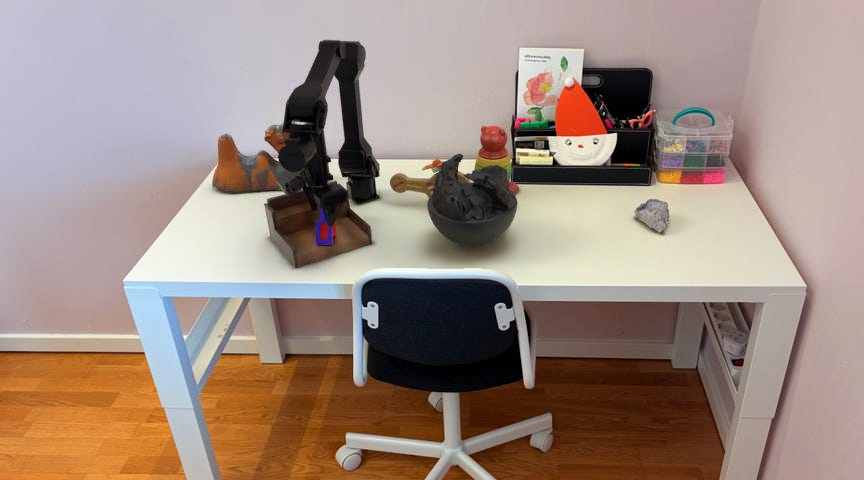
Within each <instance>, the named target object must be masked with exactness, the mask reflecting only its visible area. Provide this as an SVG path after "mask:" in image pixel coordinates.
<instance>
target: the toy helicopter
mask: <svg viewBox="0 0 864 480" xmlns="http://www.w3.org/2000/svg"><path fill="white" fill-rule="evenodd" d="M445 161H446V160H443V161H442V160H441V159H439V158H436V159H434V160H433V161H432V163H430V164H427V165H424V167H422V169H421V171H425V170H431V171H432V173H433V175H432V176H431V177H430V178H423V177H422V178H420V177H409V176H407V175H406V173H402V172H397V173H395V174H393V175H392V176H391V177H390V180H389V187H390V189H392V191H394V192H395V193H397V194H403V193H405V192H408V191H409V192H416V193H421V194H425V196H427V198H428V199H429V198H430V196H431V195H432V193H433V190H434V183H435V178H436V176H437V174H438V173H439V172H440V171H441V169H440V166H441V164H442V163H443V162H445ZM464 174H465V173H463V172H461V171H459V170H458V181H459V182H460V183H469V182H471V180H469V179H468V178H466V177H465V176H464Z"/></svg>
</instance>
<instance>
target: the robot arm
mask: <svg viewBox="0 0 864 480" xmlns="http://www.w3.org/2000/svg"><path fill="white" fill-rule="evenodd" d="M317 48H318V51H317V53H316V55H315V57H314V60H313V62H312V65H311V67H310V69H309V71H308V74H307V75H306V78H305V80H304V82H303V83H301V84H300V85H298V86H296V87H294V89H292V92H291V93H290V94H289V97H288V98H287V100H286V101H285V108H284V117H283V123H282V124H283V133H290V137H287V138H286V139H285V145H284V146H283V147H282V148H281V149H280V151H279V154H278V153H277V161H279V162H280V164H281V166H282V167H283V168H284V169H286V170H285V171H284V172H282V173H281V174H279V175H278V176H276V178H275V180H276V181H277V183H278V185H279V186H280V188H281V189H282V190H281V191H282V192H283V193H284V194H286V195H287V196H291V195H293V194H294V193H297V192H298V191H300V190H302V189H303V191H304V193H305V196H306V198H307V200H308V202H309V205H310V207H311V209H312V211H316V210H317V208H318V206H319V207H320V208H322V209H323V212H324V215H325V219H326V222H327V224H328V227H332V226H333V225H334V223H335V220H336V218H337V215H338V213H339V210H340V208H341V206H342V204H343V203H344V202H345V201H347V200H348V195H349V200H351V201H353V202H354V203H355V204H356V205H361V204H364V203H367V202H371V201H375V200H378V199H380V197H381V196H380V195H379V194H378V192H377V183H376V178H379V177H380V170H381V167H380V163H379V161H378V160H377V159H376V158H375V156H374V155H373V148H372V146H371V144H369V142H368V141H367V138H365V133H364V132H365V131H364V122H363V112H362V100H361V87H360V77H361V75H362V73H363V71H364V69H365V61H366V59H367V52H366V47H365V46H364V45H363V44H362V43H361V42H360V41H359V40H340V39H323V40H320V41H319V42H318V47H317ZM334 77H335V79H336V80H337V82H338V91H339V100H340V109H341V110H340V111H341V120H342V129H343V130H342V131H343V137H344V142H343V143H342V145H341V147H340V149H339V150H338V153H337V155H338V158H337V165H338V169H339V171H340V174H341V178H347V181H346V182H345V184H346V188H345V187H344V188H345V189H346V190H347V191H348V195H347V191H346V190H345V189H344V188H342V187H341V186H340V185H338V184H339V183H338V182H337V183H338V184H337V183H335V184H331V185H330V184H329V183H328V182H332V181H335V180H334V175H333V174H332V173H331V172H330V165H329V163H332V157H330V155H328V151H327V143H326V136H325V130H324V129H325V126H326V124H327V123H326V122H327V118H328V113H329V103H328V101H327V98H326V96H327V93H328V92H329V91H328V90H329V89H330V86H331V84H332V81H333V79H334ZM292 121H293V122H295V123H296V124H291V123H292ZM300 123H301V124H300ZM302 123H303V124H302Z"/></svg>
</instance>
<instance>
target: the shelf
mask: <svg viewBox="0 0 864 480" xmlns="http://www.w3.org/2000/svg"><path fill="white" fill-rule="evenodd" d="M328 183H329V184H330V185H331V184H335V183H337V184H338V185H340V186H341V187H342V188H344V189H345V190H346V191H347V188H345V186H343V185H342V184H341V183H338V181H337V180H331V181H328ZM347 195H348V191H347ZM263 205H264V206H263V207H264V211H265V217H266V222H267V227H268V233H269V237H270V239H271V241H272V242H273V243H274V244H275V245H276V247H277V248H278V249H279V251H280V252H282V254H283V255H284V256H285V258H287V260H288V261H289V262H290V263H291V264H292V266H293V267H294V268H295V269H297V268H299V267H303V266H306V265H309V264H312V263H316V262H319V261H321V260H325V259H328V258H331V257H334V256H338V255H341V254H344V253H347V252H350V251H354V250H357V249H360V248H362V247H366V246H369V245H372V244H373V237H372V228H371V225H370V224H369V223H367V221H365V220H364V219H363V218H362V217H361V216H360V215H359V214H357V213H356V212H355V211H354V210H353V209H352V208H351V203H350V198H349V195H348V200H347V201H345V202H344V203H343V204H342V206H341V208H340V210H339V213H338V215H337V218H336V220H335V221H336V236H334V237H333V245H316V221H321V208H320V207H319V206H318V208H317V210H316V211H312V209H311V207H310V205H309V202H308V200H307V198H306V196H305V193H304V191H303V189H301V190H300V191H298V192H297V193H294V194H293V195H291V196H287V195H286V194H285V193H284V194H279V195H276V196H272V197H268V198H266V202H265V203H263Z"/></svg>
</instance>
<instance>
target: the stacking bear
mask: <svg viewBox="0 0 864 480" xmlns="http://www.w3.org/2000/svg"><path fill="white" fill-rule="evenodd" d="M480 132H481V133H480V135H479V141H480V145H481V148H480V149H479V150H478V153H477V154H476V159H475V162H474V170H481V169H482V167H486V166H491V165H494V166H495V165H498V166H501V167H504V168H505V169H507V181H508V188H509V189H510V190H511V191H513V192H514V194H515V195H516V194H517V193H518V192H519V191H520V187H519V184H517V183H515V182H512V181H511V177H512V170H513V168H512V162H511V156H510V153H509V151H508V149H507V147H506V145H507V142H508V134H507V131H506V130H505V129H504V128H502V127H500V126H497V125H490V126H486V125H482V126H481V127H480Z"/></svg>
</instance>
